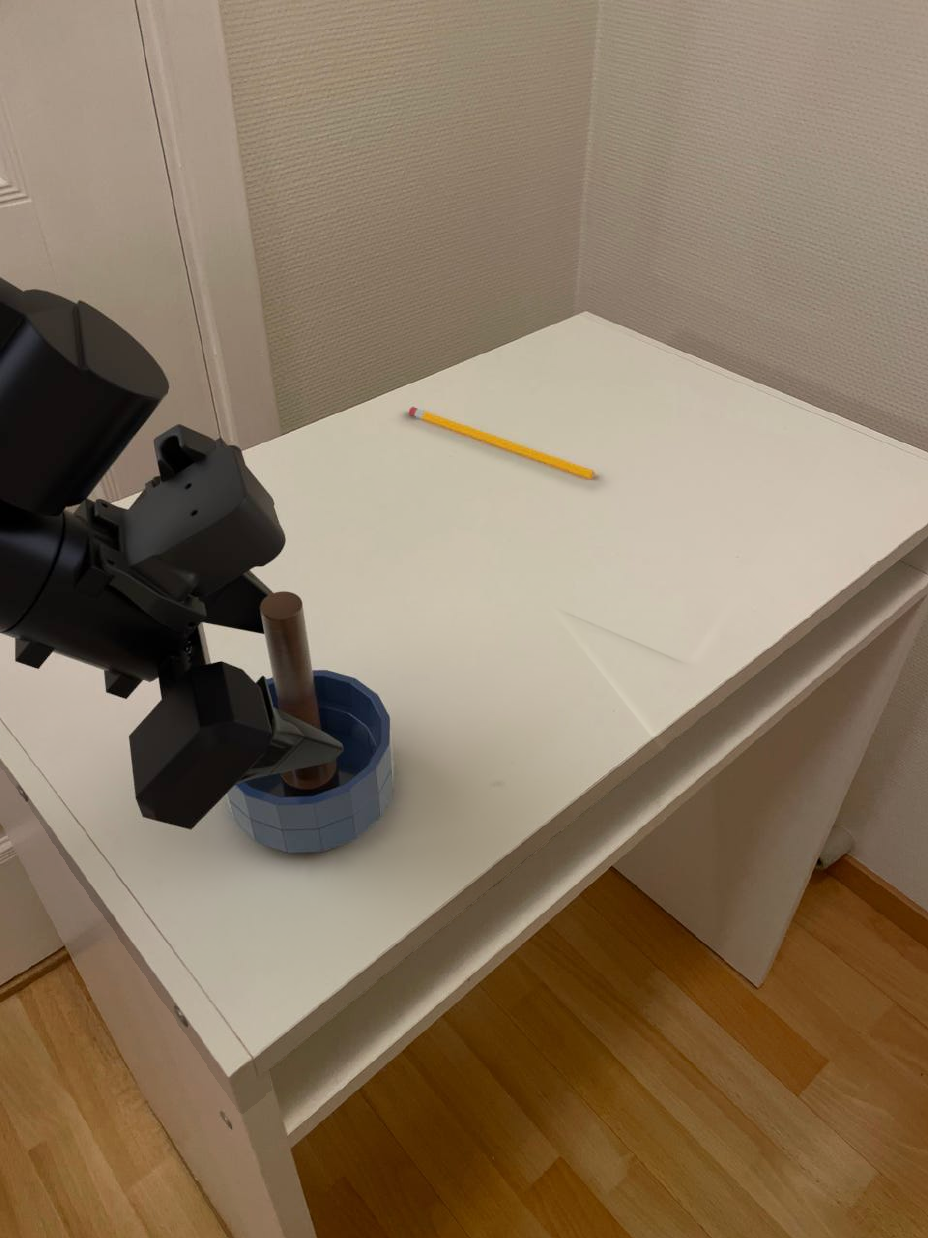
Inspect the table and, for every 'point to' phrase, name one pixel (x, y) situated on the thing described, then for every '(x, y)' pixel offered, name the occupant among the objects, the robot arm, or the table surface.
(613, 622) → the table surface
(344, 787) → the bowl
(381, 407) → the table surface
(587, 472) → the pencil
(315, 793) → the muddler
